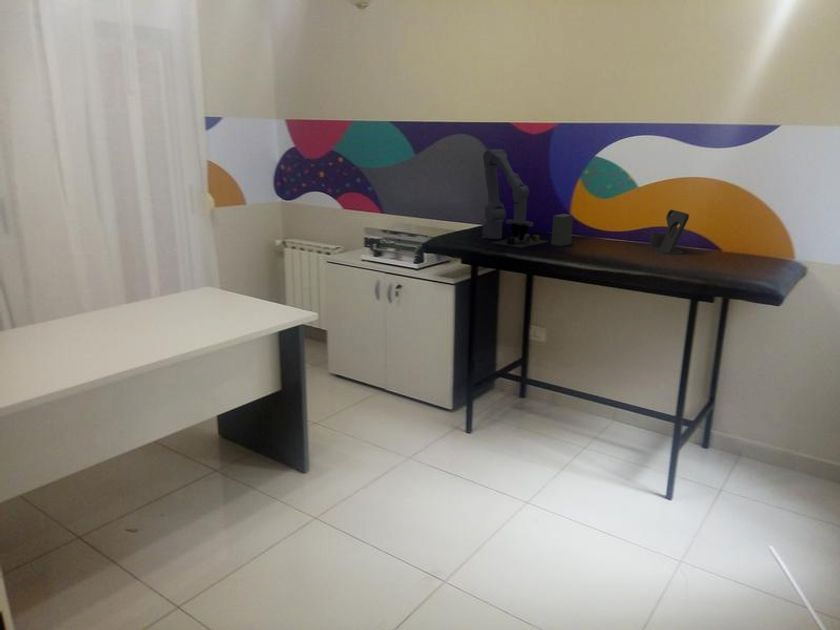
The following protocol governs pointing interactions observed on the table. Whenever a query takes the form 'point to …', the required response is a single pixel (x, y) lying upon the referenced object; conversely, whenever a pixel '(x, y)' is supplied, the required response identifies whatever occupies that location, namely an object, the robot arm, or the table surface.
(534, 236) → the block
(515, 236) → the tongs fixed
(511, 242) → the bar
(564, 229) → the skincare box
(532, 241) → the mat
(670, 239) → the phone holder
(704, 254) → the table surface
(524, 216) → the robot arm
